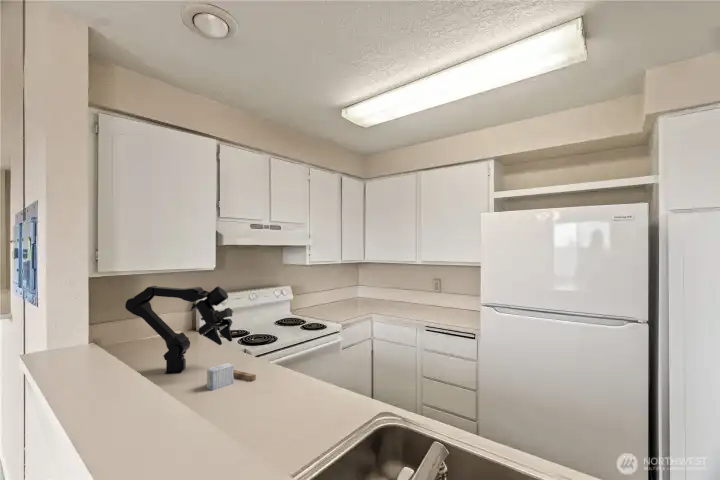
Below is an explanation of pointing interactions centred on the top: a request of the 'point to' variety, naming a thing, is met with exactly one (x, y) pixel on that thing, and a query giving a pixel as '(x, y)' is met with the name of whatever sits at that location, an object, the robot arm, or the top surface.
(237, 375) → the walnut tipping strip
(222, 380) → the medicine box
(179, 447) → the top surface
